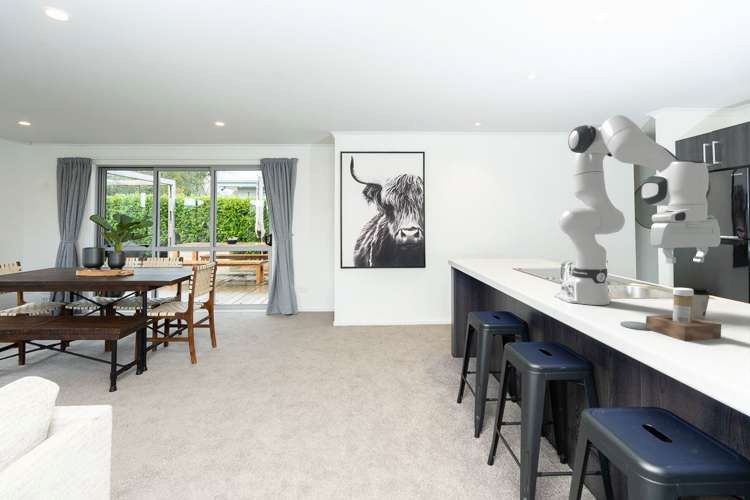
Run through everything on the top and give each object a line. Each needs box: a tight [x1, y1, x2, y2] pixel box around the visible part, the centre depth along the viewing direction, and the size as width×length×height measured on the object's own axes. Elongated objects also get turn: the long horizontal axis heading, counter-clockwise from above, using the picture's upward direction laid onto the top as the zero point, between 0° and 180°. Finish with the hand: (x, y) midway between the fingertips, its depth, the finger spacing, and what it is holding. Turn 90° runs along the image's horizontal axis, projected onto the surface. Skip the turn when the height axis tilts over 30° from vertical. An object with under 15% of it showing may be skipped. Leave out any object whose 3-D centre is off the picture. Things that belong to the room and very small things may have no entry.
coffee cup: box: [689, 287, 711, 320], centre depth 124 cm, size 7×7×10 cm
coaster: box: [619, 320, 651, 331], centre depth 115 cm, size 9×9×1 cm
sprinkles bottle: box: [672, 287, 694, 324], centre depth 107 cm, size 5×5×13 cm
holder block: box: [645, 314, 722, 342], centre depth 107 cm, size 12×12×4 cm
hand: (684, 262), depth 106 cm, fingers open, 8 cm apart
